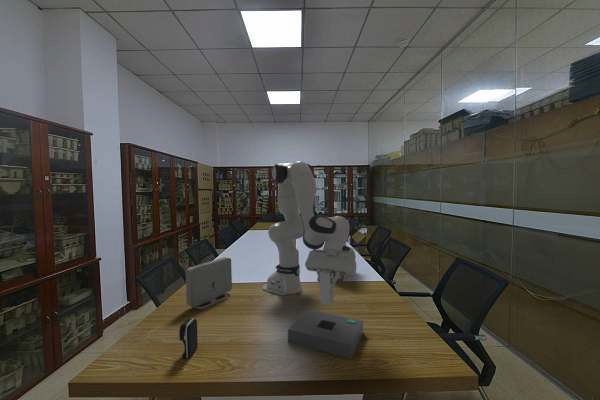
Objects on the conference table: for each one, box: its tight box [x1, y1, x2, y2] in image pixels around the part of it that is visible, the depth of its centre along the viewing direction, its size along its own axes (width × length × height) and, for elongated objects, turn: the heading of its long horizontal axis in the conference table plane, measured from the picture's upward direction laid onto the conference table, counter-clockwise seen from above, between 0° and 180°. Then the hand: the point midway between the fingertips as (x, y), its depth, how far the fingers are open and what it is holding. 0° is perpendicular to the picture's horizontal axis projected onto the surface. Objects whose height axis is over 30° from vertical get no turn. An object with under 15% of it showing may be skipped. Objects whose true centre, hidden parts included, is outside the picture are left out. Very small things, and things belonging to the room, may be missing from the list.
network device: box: [185, 256, 233, 310], centre depth 140 cm, size 26×9×20 cm, turn 148°
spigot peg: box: [319, 269, 335, 306], centre depth 104 cm, size 4×4×12 cm
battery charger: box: [178, 318, 199, 359], centre depth 96 cm, size 7×4×11 cm, turn 177°
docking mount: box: [287, 309, 364, 360], centre depth 105 cm, size 24×18×5 cm
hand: (326, 282), depth 103 cm, fingers closed on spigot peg, 4 cm apart
